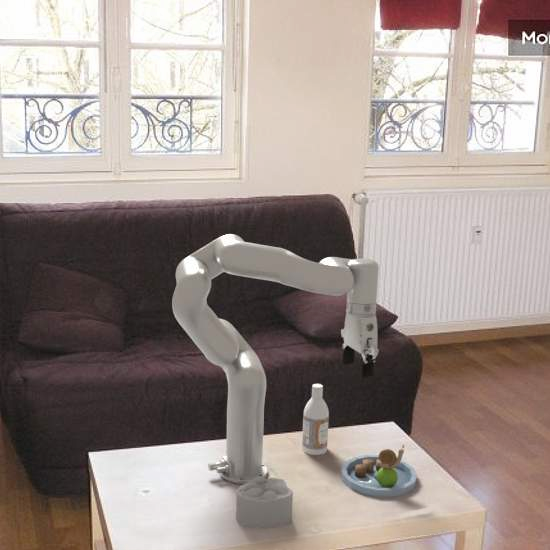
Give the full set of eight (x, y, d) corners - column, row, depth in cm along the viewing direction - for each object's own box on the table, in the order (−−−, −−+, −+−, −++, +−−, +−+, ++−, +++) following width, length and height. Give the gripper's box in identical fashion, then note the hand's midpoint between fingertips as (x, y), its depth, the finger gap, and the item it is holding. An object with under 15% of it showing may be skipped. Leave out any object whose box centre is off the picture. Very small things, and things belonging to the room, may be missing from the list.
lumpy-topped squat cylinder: (295, 523, 209) (296, 490, 207) (243, 532, 205) (244, 498, 203) (280, 502, 219) (281, 470, 217) (230, 509, 214) (230, 477, 212)
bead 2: (365, 473, 232) (366, 465, 232) (360, 468, 235) (360, 460, 234) (375, 471, 234) (376, 463, 233) (369, 466, 236) (370, 458, 236)
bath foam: (314, 460, 241) (318, 392, 236) (296, 451, 246) (299, 384, 240) (331, 453, 246) (335, 386, 240) (313, 444, 250) (317, 378, 245)
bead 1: (358, 478, 230) (358, 470, 229) (352, 473, 232) (353, 465, 232) (368, 476, 231) (368, 468, 230) (362, 471, 233) (363, 463, 233)
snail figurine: (400, 493, 223) (403, 450, 220) (375, 490, 224) (378, 447, 221) (401, 483, 228) (405, 440, 225) (376, 480, 229) (379, 438, 226)
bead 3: (379, 473, 233) (380, 464, 232) (373, 468, 235) (374, 459, 235) (389, 471, 234) (389, 462, 233) (383, 466, 237) (383, 457, 236)
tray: (365, 506, 218) (366, 495, 217) (328, 471, 235) (329, 462, 234) (430, 491, 226) (431, 482, 225) (390, 459, 243) (390, 450, 242)
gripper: (391, 315, 219) (387, 379, 224) (357, 296, 234) (353, 357, 239) (365, 318, 216) (361, 383, 221) (332, 299, 231) (328, 360, 236)
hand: (357, 369), depth 230 cm, fingers open, 9 cm apart
